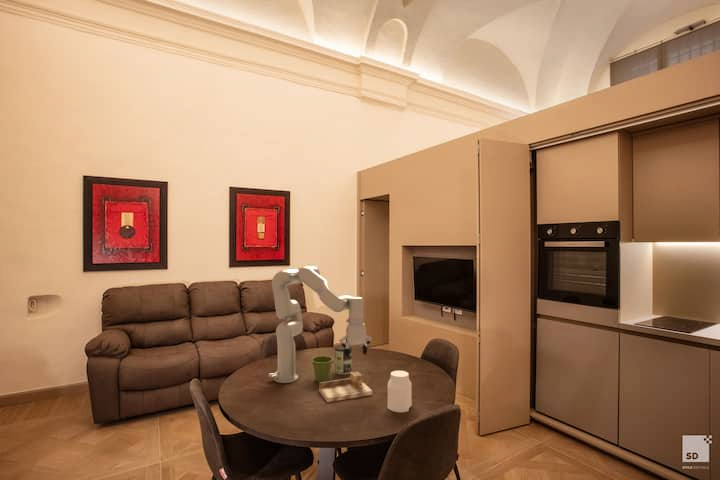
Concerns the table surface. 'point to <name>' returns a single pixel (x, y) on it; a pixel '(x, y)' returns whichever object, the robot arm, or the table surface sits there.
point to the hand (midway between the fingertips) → (355, 354)
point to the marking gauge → (356, 380)
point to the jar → (399, 392)
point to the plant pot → (322, 367)
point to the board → (342, 390)
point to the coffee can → (343, 360)
